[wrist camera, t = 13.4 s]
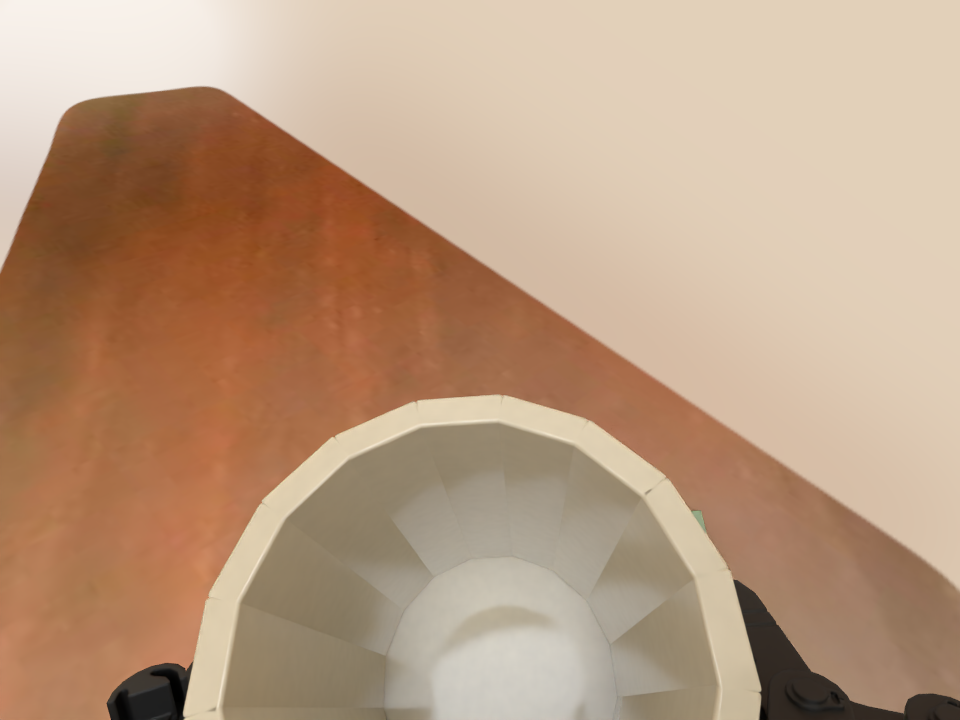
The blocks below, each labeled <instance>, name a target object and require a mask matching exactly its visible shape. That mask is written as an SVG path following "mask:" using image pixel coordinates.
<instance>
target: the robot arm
mask: <svg viewBox="0 0 960 720" xmlns="http://www.w3.org/2000/svg"><path fill="white" fill-rule="evenodd" d="M733 581H734V585H735V589H736V593H737V596H738V600H739V604H740V608H741V612H742V616H743V619H744V623H745V627H746V631H747V635H748V639H749V642H750V646H751V650H752V654H753V658H754V662H755V665H756V669H757V673H758V677H759V681H760V685H761V692H759V693H760V694H761V708H760V717H759V720H960V701H958V700H956V699H953V698H951V697H946V696H942V695H937V694H917V695H915V696H914V697H912V698H910V699H908V701H907V703H906V706H905V710H904V714H903V713H898V712H893V711H888V710H883V709H878V708H873V707H869V706H865V705H861V704H858V703H855V702H852V701H850V700H849V698H848V696H847V695H846V694H845V693H844V692H843V691H842V690H841V689H840V688H839V686H838V685H836V684H835V683H833V682H831V681H830V680H828V679H827V678H825V677H824V676H821V675H819V674H816V673H813V672H811V671H810V669H809V668H808V666H807V665H806V664H805V662H804V661H803V659H802V658H801V657H800V655H799V654H798V652H797V651H796V650H795V648H794V647H793V645H792V644H791V643H790V641H789V640H788V638H787V637H786V636H785V634H784V633H783V631H782V630H781V628H780V627H779V626H778V625H776V621H775V620H774V619H773V617H772V616H771V614H770V613H769V612H767V609H766V607H765V606H764V605H763V603H762V602H761V600H760V599H759V598H758V596H757V595H756V593H754V592H753V591H752V590H750V589H749V588H747V587H746V586H745V585H743V584H742V583H740V582H739V581H738V580H733ZM193 661H194V660H193ZM192 666H193V662H192V663H191V665H190V666H189V668H188V669H187V671H186V670H185V668H183V667H182V666H180V665H179V664H172V663H164V664H159V665H155V666H151V667H149V668H146V669H144V670H142V671H139V672H137V673H136V674H134V675H133V676H131V677H130V678H128V679H127V680H125V681H124V682H122V683H121V684H120V685H119V686H118V687H117V688H116V689H115V690H114V691H113V692H112V694H111V696H110V698H109V700H108V702H107V707H108V710H109V714H110V718H111V720H183V719H185V717H183V710H184V705H185V700H186V695H187V690H188V686H189V681H190V676H191V671H192Z"/></svg>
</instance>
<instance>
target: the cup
mask: <svg viewBox="0 0 960 720" xmlns="http://www.w3.org/2000/svg"><path fill="white" fill-rule="evenodd" d="M208 596H209V598H208V599H207V600H206V602H205V607H204V612H203V617H202V622H201V627H200V632H199V637H198V642H197V646H196V651H195V656H194V661H193V666H192V671H191V676H190V681H189V686H188V690H187V695H186V700H185V705H184V710H183V717H185V719H183V720H759V717H760V708H761V694H760V693H759V692H761V685H760V681H759V677H758V673H757V669H756V665H755V662H754V658H753V654H752V650H751V646H750V642H749V639H748V635H747V631H746V627H745V623H744V619H743V616H742V612H741V608H740V604H739V600H738V596H737V593H736V589H735V585H734V581H733V577H732V573H731V571H730V570H729V569H728V566H727V564H726V562H725V561H724V559H723V558H722V556H721V555H720V553H719V552H718V550H717V549H716V548H715V546H714V545H713V543H712V542H711V540H710V539H709V537H708V536H707V534H706V533H705V531H704V530H703V528H702V527H701V525H700V524H699V522H698V521H697V520H696V518H695V517H694V515H693V514H692V512H691V511H690V509H689V508H688V506H687V505H686V503H685V502H684V500H683V499H682V497H681V496H680V494H679V493H678V492H677V490H676V489H675V487H674V486H673V484H672V483H671V481H670V480H669V479H668V478H666V476H665V475H664V474H663V473H662V472H660V471H659V470H658V469H656V468H655V467H654V466H652V465H651V464H649V463H648V462H647V461H645V460H644V459H643V458H641V457H640V456H638V455H637V454H636V453H634V452H633V451H632V450H630V449H629V448H628V447H626V446H625V445H623V444H622V443H621V442H619V441H618V440H617V439H615V438H614V437H612V436H611V435H610V434H608V433H607V432H606V431H604V430H603V429H602V428H600V427H599V426H597V425H596V424H595V423H593V422H592V421H590V420H589V421H587V419H586V418H583V417H579V416H576V415H573V414H569V413H566V412H562V411H559V410H555V409H552V408H548V407H545V406H541V405H538V404H534V403H531V402H528V401H524V400H521V399H517V398H514V397H510V396H507V395H503V397H502V396H501V395H485V396H471V397H456V398H442V399H427V400H418V401H417V403H416V402H411V403H408V404H406V405H404V406H401V407H399V408H397V409H395V410H392V411H390V412H388V413H385V414H383V415H381V416H378V417H376V418H374V419H372V420H369V421H367V422H365V423H362V424H360V425H358V426H356V427H353V428H351V429H349V430H346V431H344V432H342V433H339V434H337V435H336V436H335V438H334V437H331V438H330V439H329V440H328V441H327V442H326V443H324V444H323V445H322V446H321V447H320V448H319V449H318V450H317V451H316V452H315V453H313V454H312V455H311V456H310V457H309V458H308V459H307V460H306V461H305V462H304V463H302V464H301V465H300V466H299V467H298V468H297V469H296V470H295V471H294V472H293V473H291V474H290V475H289V476H288V477H287V478H286V479H285V480H284V481H283V482H282V483H280V484H279V485H278V486H277V487H276V488H275V489H274V490H273V491H272V492H271V493H269V494H268V495H267V496H266V497H265V498H264V499H263V500H262V504H260V505H259V506H258V508H257V510H256V511H255V513H254V515H253V517H252V518H251V520H250V522H249V524H248V525H247V527H246V529H245V531H244V532H243V534H242V536H241V538H240V539H239V541H238V543H237V545H236V546H235V548H234V550H233V552H232V553H231V555H230V557H229V559H228V560H227V562H226V564H225V566H224V567H223V569H222V571H221V573H220V575H219V576H218V578H217V580H216V582H215V583H214V585H213V587H212V589H211V590H210V592H209V595H208Z"/></svg>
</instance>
